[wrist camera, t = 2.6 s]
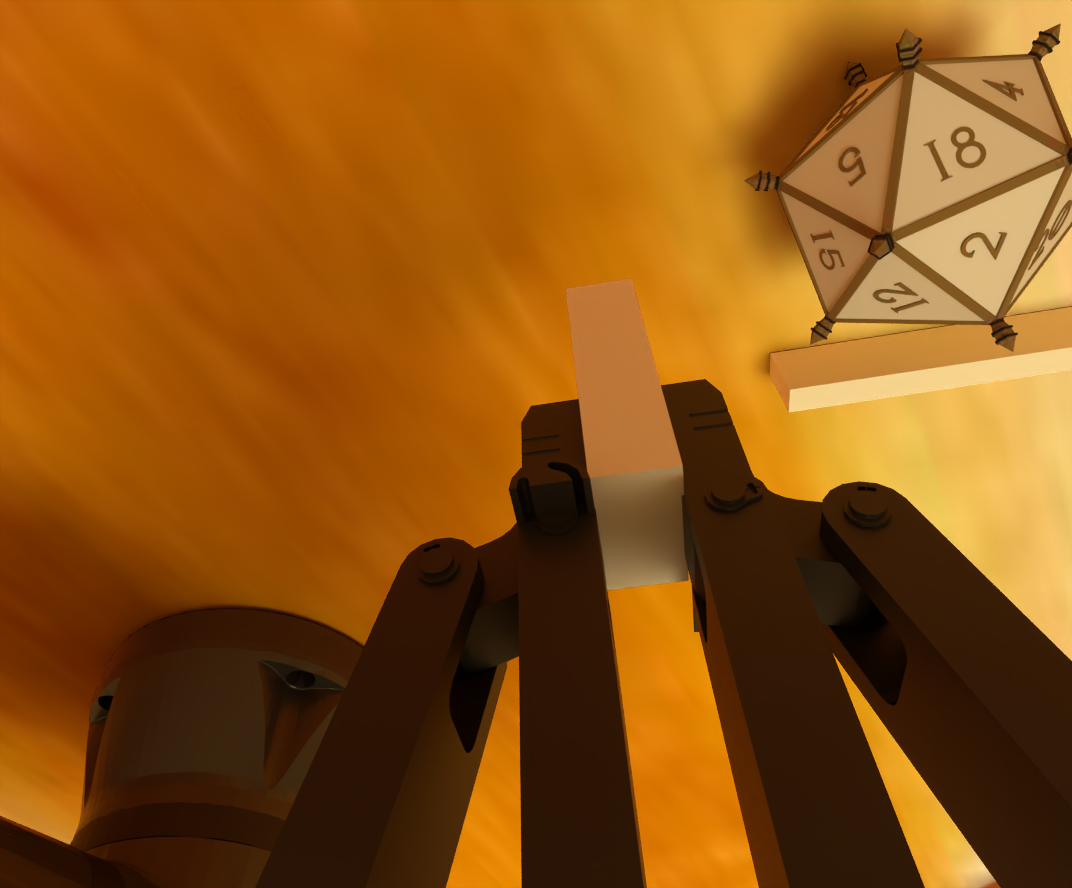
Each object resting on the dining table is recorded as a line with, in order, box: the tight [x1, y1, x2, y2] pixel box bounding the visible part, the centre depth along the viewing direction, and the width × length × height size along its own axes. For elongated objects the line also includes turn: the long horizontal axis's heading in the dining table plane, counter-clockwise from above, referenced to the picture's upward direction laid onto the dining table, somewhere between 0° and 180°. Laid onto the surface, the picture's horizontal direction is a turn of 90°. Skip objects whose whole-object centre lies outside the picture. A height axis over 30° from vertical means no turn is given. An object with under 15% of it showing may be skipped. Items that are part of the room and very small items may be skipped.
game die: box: [744, 24, 1072, 352], centre depth 21 cm, size 9×8×10 cm
